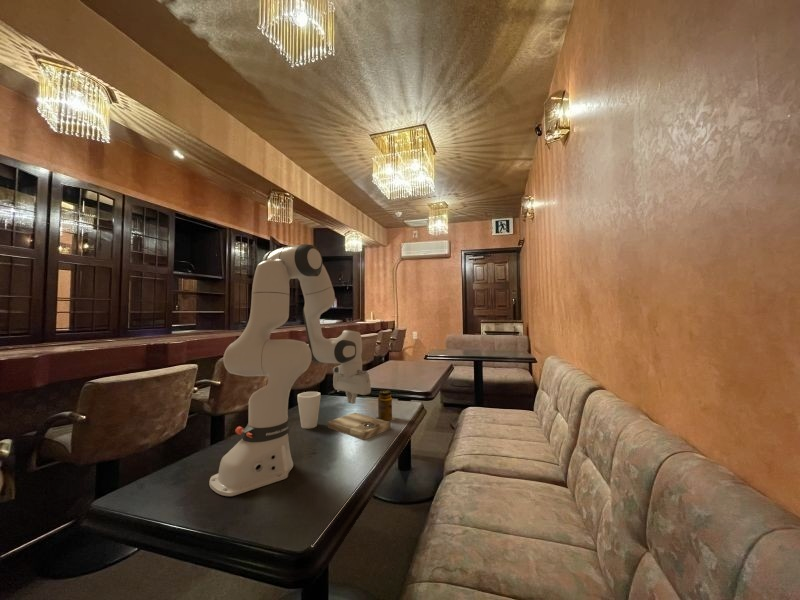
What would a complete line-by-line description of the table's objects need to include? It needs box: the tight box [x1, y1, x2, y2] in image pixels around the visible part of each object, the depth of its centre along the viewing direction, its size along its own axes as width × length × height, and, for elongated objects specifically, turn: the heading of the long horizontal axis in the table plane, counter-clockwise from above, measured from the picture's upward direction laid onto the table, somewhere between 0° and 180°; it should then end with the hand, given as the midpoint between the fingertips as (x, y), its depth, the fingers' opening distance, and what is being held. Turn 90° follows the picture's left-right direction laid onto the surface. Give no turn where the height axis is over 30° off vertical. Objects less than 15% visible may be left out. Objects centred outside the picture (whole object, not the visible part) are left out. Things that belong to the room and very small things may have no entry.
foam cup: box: [296, 391, 322, 430], centre depth 137 cm, size 10×9×13 cm
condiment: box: [376, 390, 396, 422], centre depth 144 cm, size 7×8×12 cm
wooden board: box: [327, 412, 392, 441], centre depth 133 cm, size 15×21×2 cm
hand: (351, 403), depth 135 cm, fingers closed
